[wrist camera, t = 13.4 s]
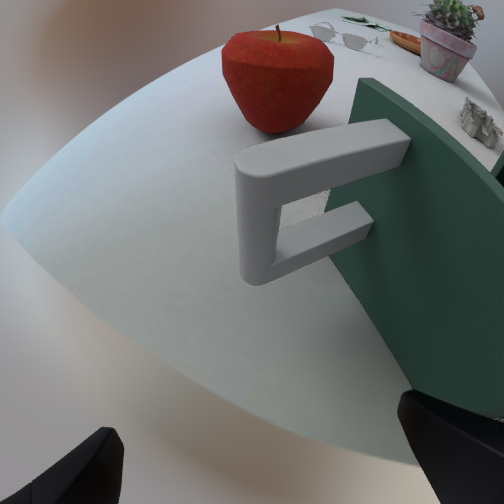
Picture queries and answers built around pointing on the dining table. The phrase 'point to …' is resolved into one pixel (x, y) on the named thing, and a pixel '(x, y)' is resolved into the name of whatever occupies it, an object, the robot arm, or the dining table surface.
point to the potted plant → (447, 38)
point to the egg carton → (479, 124)
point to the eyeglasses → (349, 39)
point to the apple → (277, 76)
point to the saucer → (407, 41)
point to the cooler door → (391, 237)
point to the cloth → (366, 23)
